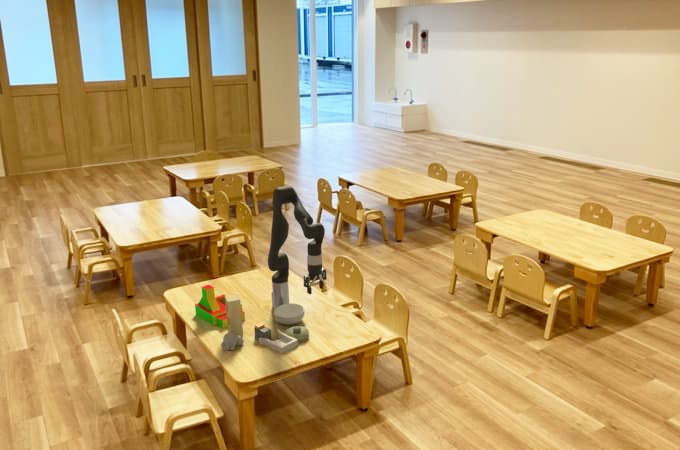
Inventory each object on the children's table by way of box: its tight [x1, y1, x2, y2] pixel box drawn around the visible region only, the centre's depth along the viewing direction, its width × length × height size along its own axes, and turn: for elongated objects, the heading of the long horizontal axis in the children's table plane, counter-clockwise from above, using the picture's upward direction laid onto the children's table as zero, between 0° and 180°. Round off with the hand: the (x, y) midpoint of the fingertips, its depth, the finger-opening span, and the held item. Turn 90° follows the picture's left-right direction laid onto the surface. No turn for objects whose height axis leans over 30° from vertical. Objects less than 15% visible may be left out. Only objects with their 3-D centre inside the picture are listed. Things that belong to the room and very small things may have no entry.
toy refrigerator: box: [225, 294, 244, 337], centre depth 317 cm, size 8×7×21 cm
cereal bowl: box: [273, 302, 305, 326], centre depth 332 cm, size 17×17×7 cm
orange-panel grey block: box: [253, 322, 273, 341], centre depth 314 cm, size 8×4×7 cm, turn 46°
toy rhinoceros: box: [220, 332, 245, 351], centre depth 306 cm, size 7×12×8 cm, turn 127°
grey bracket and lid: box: [258, 325, 310, 354], centre depth 313 cm, size 16×24×5 cm
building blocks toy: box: [194, 284, 246, 329], centre depth 338 cm, size 19×25×18 cm
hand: (315, 291), depth 311 cm, fingers open, 8 cm apart
